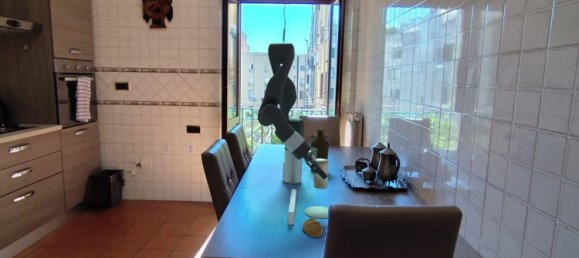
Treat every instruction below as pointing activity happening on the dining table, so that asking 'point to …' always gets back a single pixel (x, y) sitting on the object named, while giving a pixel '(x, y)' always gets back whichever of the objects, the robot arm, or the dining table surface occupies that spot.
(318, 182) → the dome-topped cylinder
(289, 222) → the wall
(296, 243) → the dining table surface
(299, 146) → the robot arm
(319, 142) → the olive oil
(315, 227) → the pastry
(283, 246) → the dining table surface
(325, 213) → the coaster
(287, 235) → the dining table surface
